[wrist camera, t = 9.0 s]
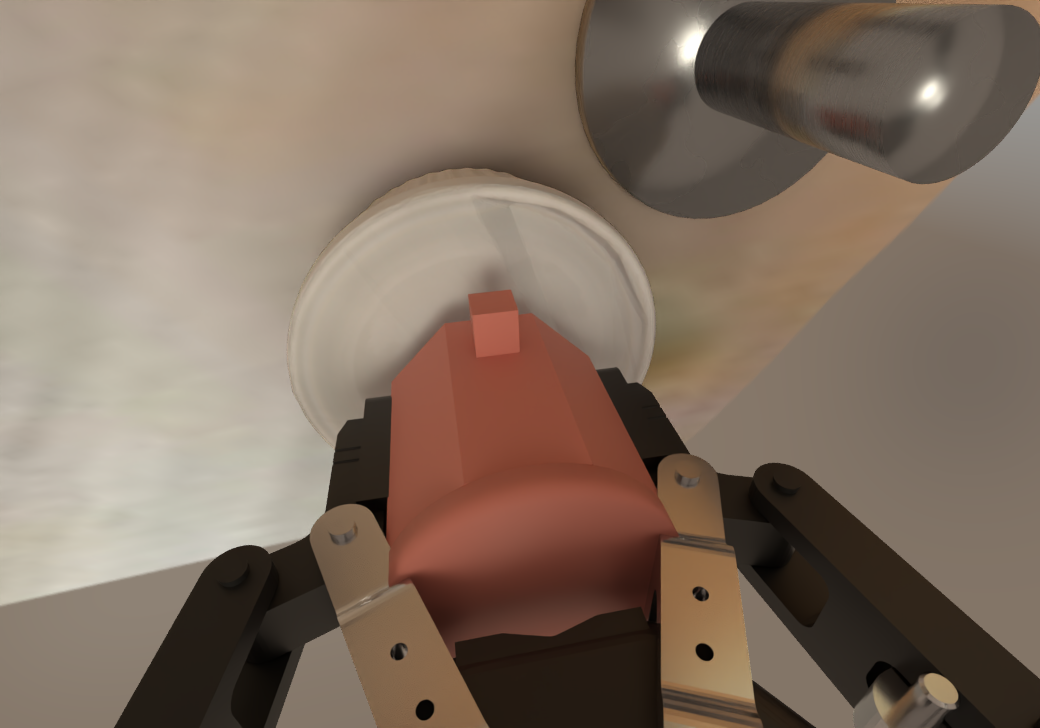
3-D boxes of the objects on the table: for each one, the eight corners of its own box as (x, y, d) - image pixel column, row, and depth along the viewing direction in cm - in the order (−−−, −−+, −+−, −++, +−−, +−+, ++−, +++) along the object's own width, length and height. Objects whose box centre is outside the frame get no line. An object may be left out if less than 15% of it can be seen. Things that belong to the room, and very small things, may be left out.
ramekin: (663, 241, 21) (730, 304, 16) (508, 435, 25) (529, 525, 21) (401, 61, 16) (400, 85, 11) (266, 343, 20) (229, 436, 16)
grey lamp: (518, 130, 17) (602, 228, 10) (710, -261, 13) (1109, -596, 6) (732, 250, 21) (903, 382, 14) (934, -18, 17) (1332, -29, 10)
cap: (363, 291, 12) (335, 492, 7) (601, 266, 13) (722, 432, 8) (411, 505, 17) (414, 723, 12) (587, 477, 17) (661, 670, 12)
